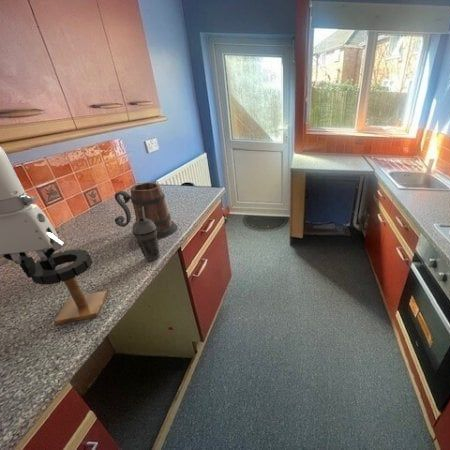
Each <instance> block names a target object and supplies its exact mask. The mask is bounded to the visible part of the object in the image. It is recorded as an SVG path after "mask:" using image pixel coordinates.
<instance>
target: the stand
mask: <svg viewBox="0 0 450 450" xmlns="http://www.w3.org/2000/svg"><path fill="white" fill-rule="evenodd" d="M64 285H65V286H66V289H67V290H68V292H69V294H70V296H69V297H68V298H67V300H66V302H65V303H64V305H63V307H62V308H61V310H60V311H59V313H58V314H57V316H56V317H55V319H54V321H53V322H54V324H55V325H61V324H66V323H71V322H72V323H73V322H77V321H81V320H86V319H92V318H97V317H99V315H100V312H101V310H102V308H103V305H104V303H105V301H106V299H107V297H108V294H109V293H108V290H103V291H97V292H91V293H85V294H83V291H82V289H81V287H80V285H79V282H78V281H77V278H76V277H75V278H72V279H69V280H67V281H64Z"/></svg>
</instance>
